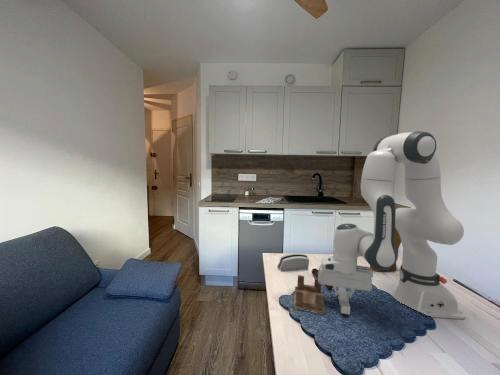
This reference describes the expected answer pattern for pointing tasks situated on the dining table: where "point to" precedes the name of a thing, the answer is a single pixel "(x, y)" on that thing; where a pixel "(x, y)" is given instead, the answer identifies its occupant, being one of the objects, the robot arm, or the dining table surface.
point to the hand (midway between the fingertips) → (342, 296)
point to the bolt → (315, 272)
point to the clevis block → (309, 296)
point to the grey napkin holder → (294, 261)
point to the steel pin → (343, 301)
